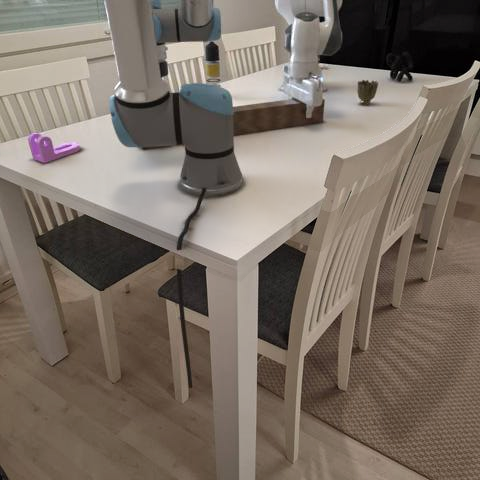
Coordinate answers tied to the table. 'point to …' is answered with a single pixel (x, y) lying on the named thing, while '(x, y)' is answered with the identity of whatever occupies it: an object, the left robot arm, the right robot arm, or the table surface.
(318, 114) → the post
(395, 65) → the squiggle
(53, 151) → the bracket
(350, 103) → the table surface
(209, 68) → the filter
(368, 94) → the cup
